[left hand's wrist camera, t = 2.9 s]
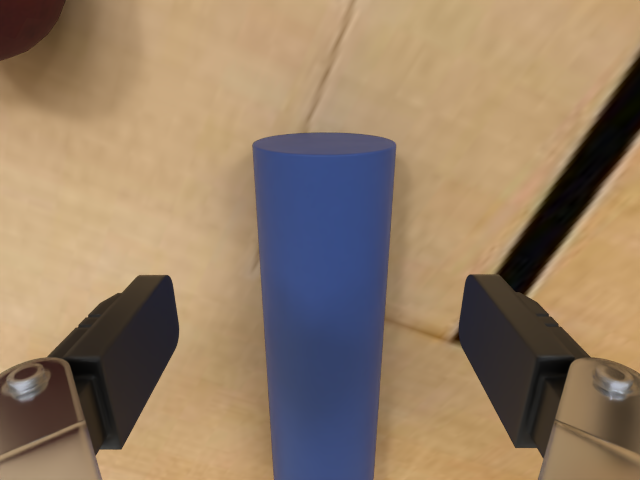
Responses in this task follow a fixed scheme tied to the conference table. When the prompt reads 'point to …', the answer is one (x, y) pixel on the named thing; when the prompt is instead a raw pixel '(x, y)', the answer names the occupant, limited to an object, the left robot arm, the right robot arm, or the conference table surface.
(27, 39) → the plum
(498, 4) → the conference table surface
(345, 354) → the rod
